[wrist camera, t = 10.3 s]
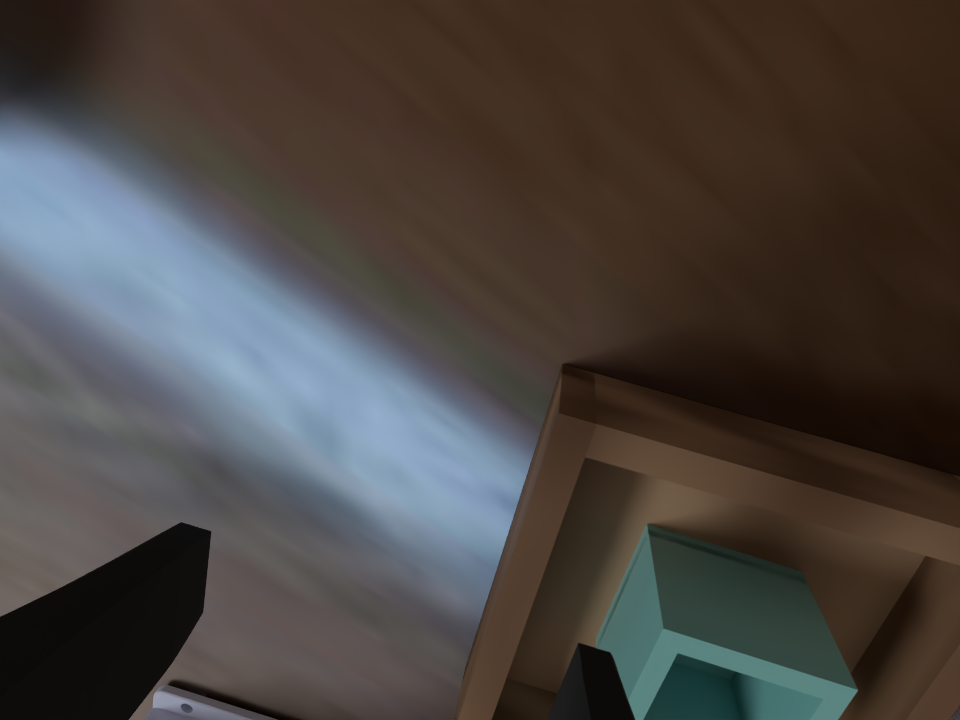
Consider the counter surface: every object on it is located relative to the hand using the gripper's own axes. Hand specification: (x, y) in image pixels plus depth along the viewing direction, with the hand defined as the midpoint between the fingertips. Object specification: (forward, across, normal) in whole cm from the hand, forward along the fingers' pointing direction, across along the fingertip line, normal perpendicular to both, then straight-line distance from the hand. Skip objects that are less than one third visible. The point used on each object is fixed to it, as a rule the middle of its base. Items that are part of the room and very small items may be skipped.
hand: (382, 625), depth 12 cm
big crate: (+9, -9, +4) cm, 14 cm away
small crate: (+9, -9, +4) cm, 13 cm away
